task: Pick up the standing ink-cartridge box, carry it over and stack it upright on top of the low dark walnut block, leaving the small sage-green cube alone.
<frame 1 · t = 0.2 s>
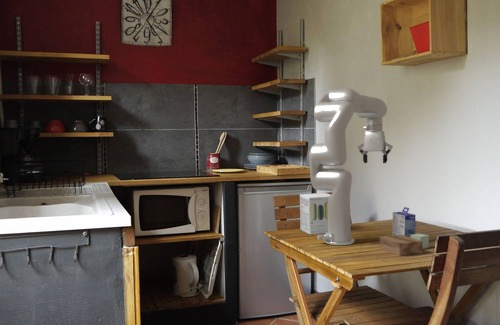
hand: (375, 163, 255), 31 cm above the table, tool pointing down, fingers open, 9 cm apart
supplement box: (317, 231, 246), on the table
walnut block: (400, 251, 202), on the table
ink cartridge box: (404, 242, 217), on the table
sage cube: (419, 247, 207), on the table
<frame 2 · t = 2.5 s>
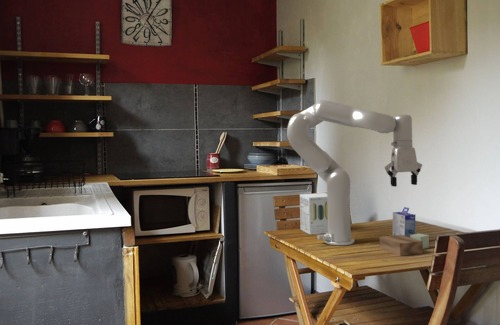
hand: (404, 185, 216), 24 cm above the table, tool pointing down, fingers open, 9 cm apart
nothing on the table moved.
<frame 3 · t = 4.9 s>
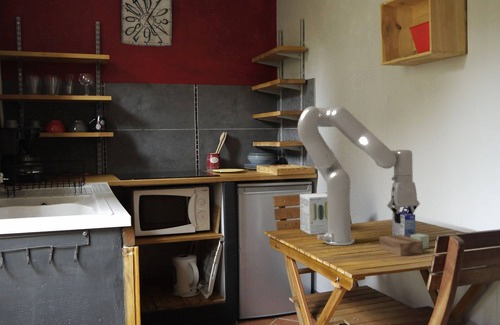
hand: (403, 221, 217), 9 cm above the table, tool pointing down, fingers closed on ink cartridge box, 5 cm apart
ink cartridge box: (404, 242, 217), on the table, touching gripper
everything else where it was.
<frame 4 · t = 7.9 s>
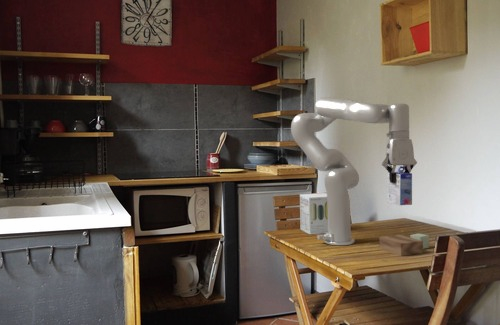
hand: (399, 181, 200), 27 cm above the table, tool pointing down, fingers closed on ink cartridge box, 5 cm apart
ink cartridge box: (399, 204, 201), point 18 cm above the table, touching gripper
everything else where it was.
when the fingers open (15 cm above the table, at t = 10.9 s): ink cartridge box drops 2 cm, resting on walnut block.
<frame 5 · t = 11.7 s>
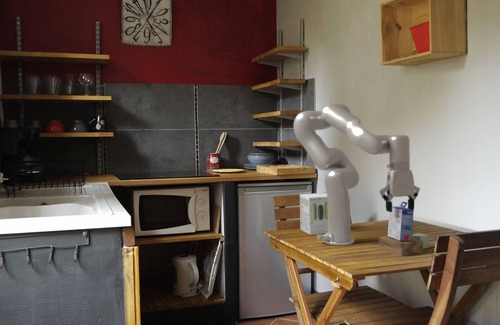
hand: (400, 210, 201), 16 cm above the table, tool pointing down, fingers open, 9 cm apart
walnut block: (400, 251, 202), on the table, touching ink cartridge box
ink cartridge box: (399, 239, 202), point 5 cm above the table, touching walnut block
everything else where it was.
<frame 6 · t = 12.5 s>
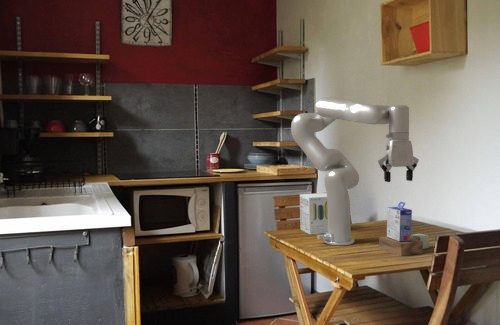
hand: (398, 181, 201), 27 cm above the table, tool pointing down, fingers open, 9 cm apart
walnut block: (400, 251, 202), on the table
ink cartridge box: (399, 239, 202), point 4 cm above the table
everything else where it was.
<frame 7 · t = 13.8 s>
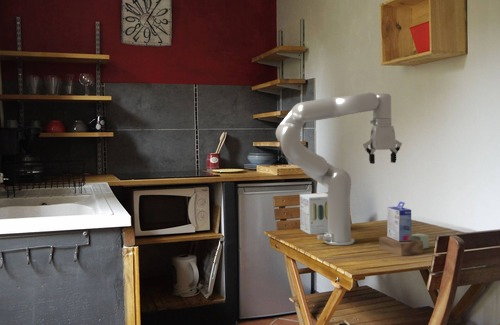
hand: (382, 163, 220), 33 cm above the table, tool pointing down, fingers open, 9 cm apart
walnut block: (400, 251, 202), on the table, touching ink cartridge box
ink cartridge box: (399, 239, 202), point 4 cm above the table, touching walnut block
everything else where it was.
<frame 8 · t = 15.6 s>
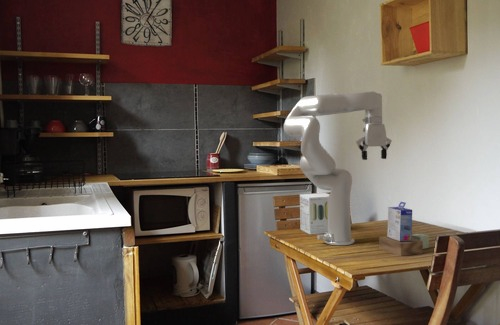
hand: (374, 159, 232), 34 cm above the table, tool pointing down, fingers open, 9 cm apart
nothing on the table moved.
at the end: ink cartridge box inside the target area on the walnut block (0.3 cm from its centre), point 4.9 cm above the walnut block's base; ink cartridge box tilted 2°; the gripper is holding nothing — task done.
